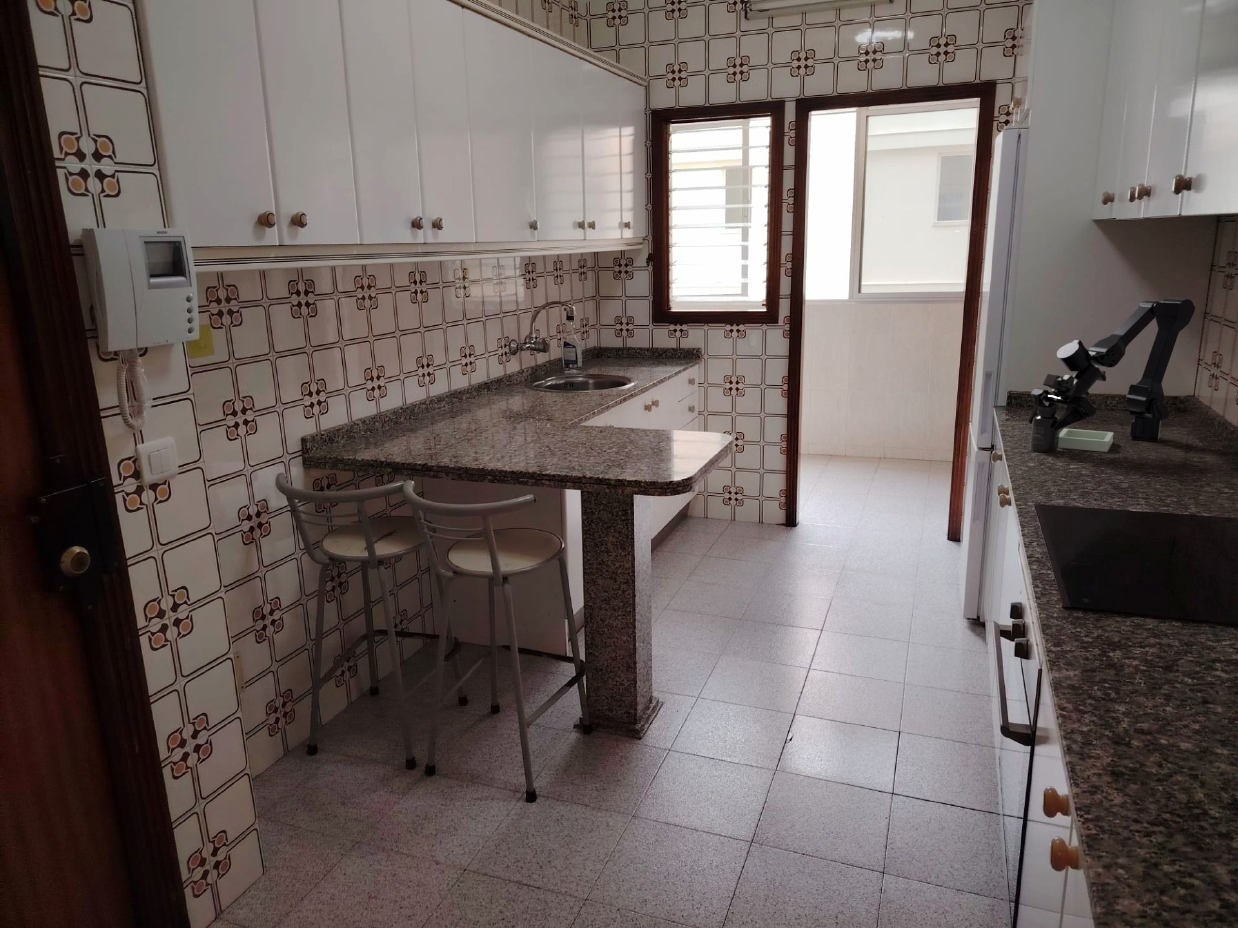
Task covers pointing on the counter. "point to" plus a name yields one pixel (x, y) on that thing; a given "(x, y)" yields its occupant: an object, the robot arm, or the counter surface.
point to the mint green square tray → (1085, 440)
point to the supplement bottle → (1045, 430)
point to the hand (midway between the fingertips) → (1042, 426)
